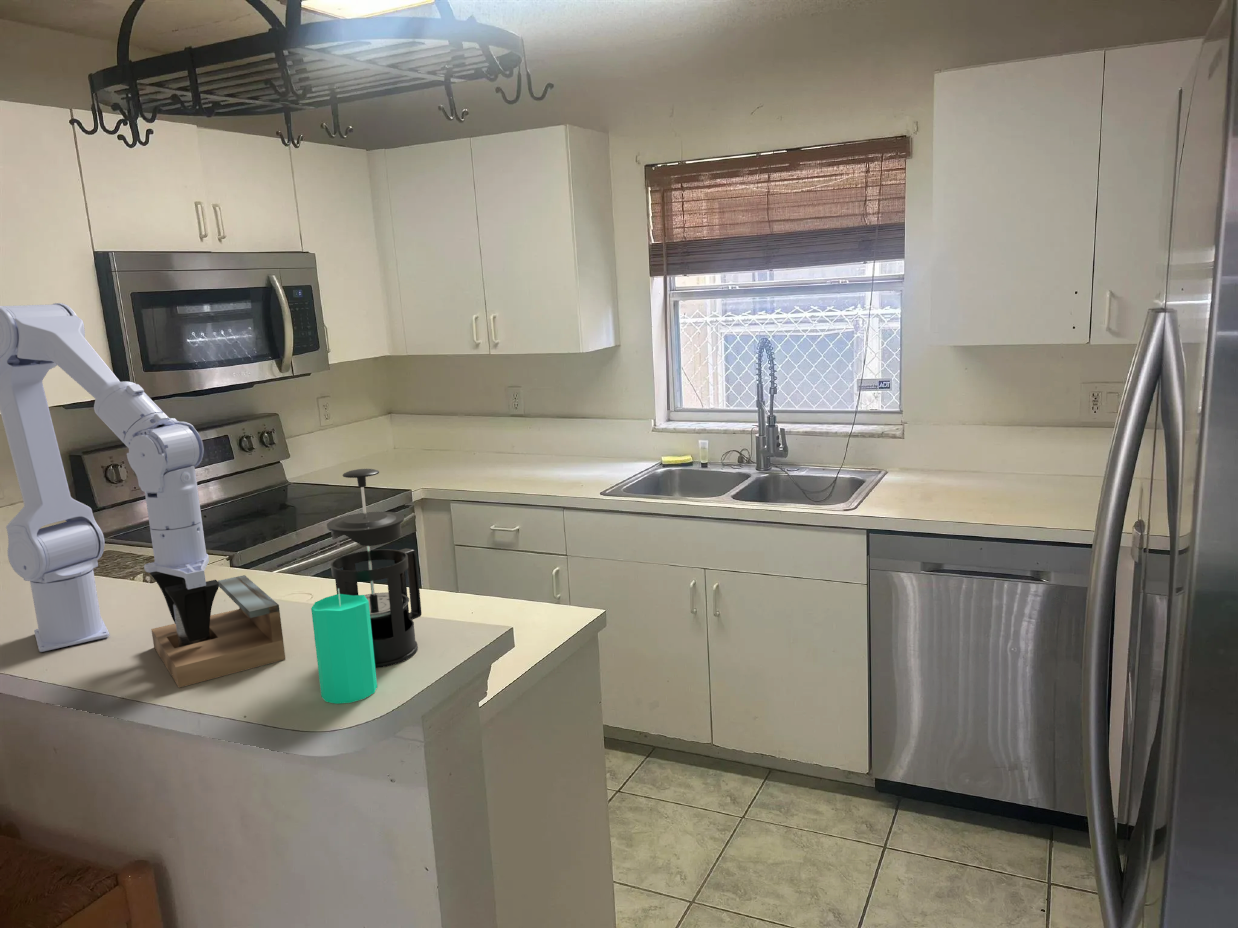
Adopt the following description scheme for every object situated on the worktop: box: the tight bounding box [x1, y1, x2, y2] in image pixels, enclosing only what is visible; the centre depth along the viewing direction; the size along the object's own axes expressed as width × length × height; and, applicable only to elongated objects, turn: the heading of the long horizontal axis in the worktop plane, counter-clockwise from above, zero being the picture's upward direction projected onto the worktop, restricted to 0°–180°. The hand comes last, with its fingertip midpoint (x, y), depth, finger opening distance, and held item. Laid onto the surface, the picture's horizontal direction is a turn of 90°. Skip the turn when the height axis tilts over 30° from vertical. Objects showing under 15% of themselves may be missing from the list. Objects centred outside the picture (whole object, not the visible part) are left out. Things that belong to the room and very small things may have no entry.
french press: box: [326, 468, 422, 669], centre depth 108 cm, size 12×9×23 cm
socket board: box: [151, 574, 286, 688], centre depth 112 cm, size 16×12×7 cm
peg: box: [173, 604, 211, 647], centre depth 111 cm, size 4×4×7 cm
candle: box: [310, 588, 378, 705], centre depth 99 cm, size 6×6×12 cm
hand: (191, 630), depth 111 cm, fingers open, 7 cm apart
